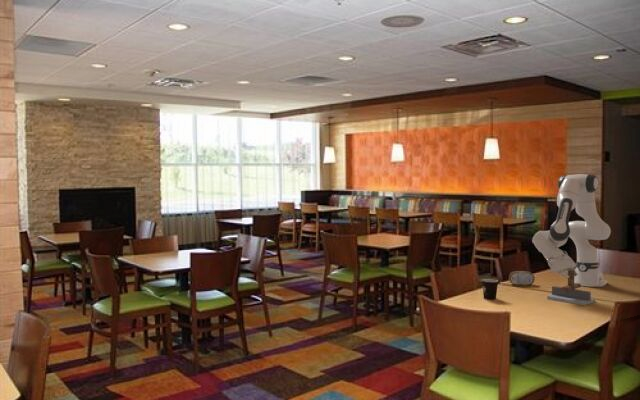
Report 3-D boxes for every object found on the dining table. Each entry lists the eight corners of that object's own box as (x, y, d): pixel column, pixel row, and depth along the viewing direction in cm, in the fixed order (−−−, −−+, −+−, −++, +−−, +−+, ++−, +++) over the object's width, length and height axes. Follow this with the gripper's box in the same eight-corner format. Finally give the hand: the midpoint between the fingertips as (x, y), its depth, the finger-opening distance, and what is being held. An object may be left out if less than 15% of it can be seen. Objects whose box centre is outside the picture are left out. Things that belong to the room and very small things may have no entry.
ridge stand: (558, 295, 300) (558, 284, 299) (595, 301, 284) (595, 290, 284) (547, 298, 291) (547, 287, 291) (584, 305, 276) (584, 294, 276)
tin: (533, 284, 329) (533, 271, 328) (535, 285, 326) (535, 272, 325) (508, 284, 330) (508, 270, 330) (509, 285, 327) (509, 271, 327)
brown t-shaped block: (576, 286, 294) (576, 268, 294) (580, 287, 293) (581, 269, 292) (560, 291, 283) (561, 272, 282) (565, 291, 281) (565, 273, 280)
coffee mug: (499, 300, 288) (499, 282, 287) (482, 299, 290) (482, 281, 289) (496, 295, 299) (496, 278, 299) (480, 295, 301) (480, 277, 300)
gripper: (549, 255, 285) (567, 275, 278) (567, 251, 298) (584, 270, 291) (541, 262, 289) (559, 282, 282) (559, 258, 302) (576, 277, 295)
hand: (572, 276), depth 287 cm, fingers open, 8 cm apart
